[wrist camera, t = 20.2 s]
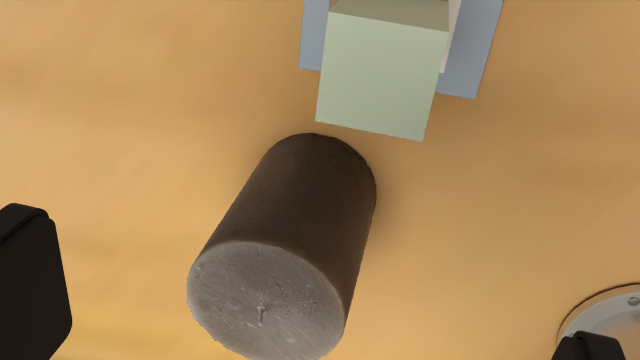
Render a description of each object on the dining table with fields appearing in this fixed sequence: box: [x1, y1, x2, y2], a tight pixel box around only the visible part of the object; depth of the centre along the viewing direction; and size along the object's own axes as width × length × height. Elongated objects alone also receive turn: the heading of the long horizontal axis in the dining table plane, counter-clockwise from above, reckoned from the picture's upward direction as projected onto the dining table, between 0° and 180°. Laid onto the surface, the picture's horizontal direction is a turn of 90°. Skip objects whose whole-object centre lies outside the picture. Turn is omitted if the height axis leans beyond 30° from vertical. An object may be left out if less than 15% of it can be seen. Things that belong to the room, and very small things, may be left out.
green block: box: [315, 0, 449, 142], centre depth 26 cm, size 5×5×6 cm
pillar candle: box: [187, 134, 376, 360], centre depth 36 cm, size 10×10×15 cm
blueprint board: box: [298, 0, 503, 100], centre depth 33 cm, size 12×10×1 cm
